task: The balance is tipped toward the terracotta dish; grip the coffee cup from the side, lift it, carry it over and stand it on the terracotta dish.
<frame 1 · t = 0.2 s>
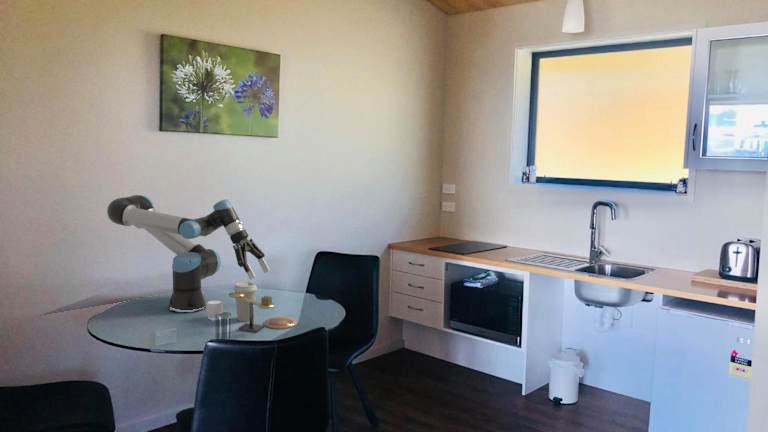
hand: (260, 274, 271), 15 cm above the table, tool tilted 35°, fingers open, 13 cm apart
shot glass: (214, 319, 257), on the table
coffee cup: (245, 319, 257), on the table
dish: (280, 323, 253), on the table
balance: (251, 329, 246), on the table
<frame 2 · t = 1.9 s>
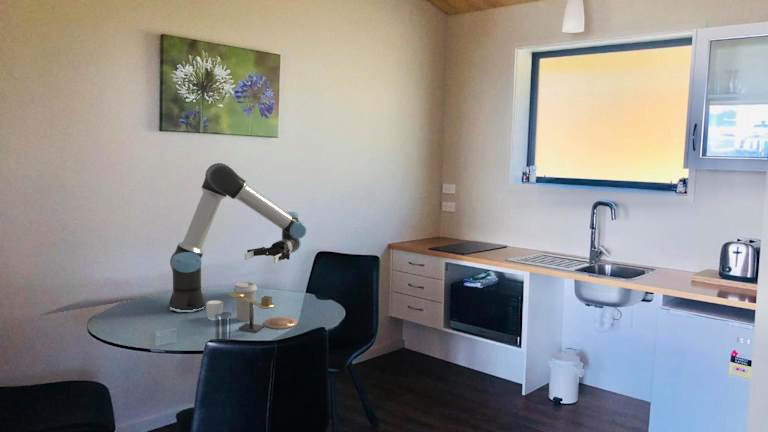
hand: (260, 258, 266), 23 cm above the table, tool horizontal, fingers open, 13 cm apart
nothing on the table moved.
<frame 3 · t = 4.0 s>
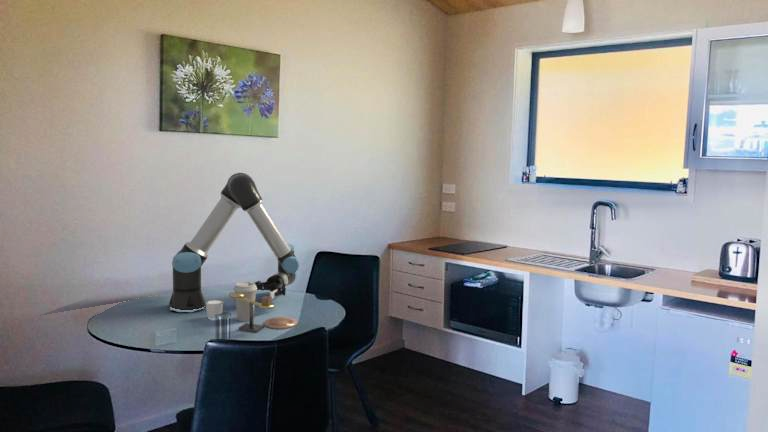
hand: (255, 294, 263), 8 cm above the table, tool horizontal, fingers open, 13 cm apart
nothing on the table moved.
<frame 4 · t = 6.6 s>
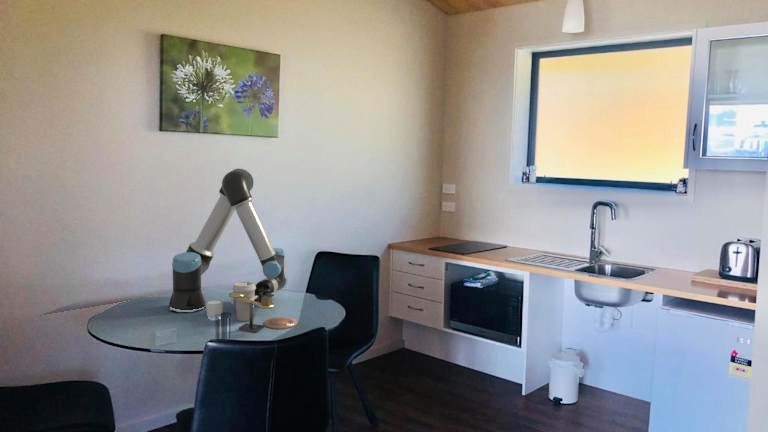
hand: (241, 301, 252), 9 cm above the table, tool horizontal, fingers closed on coffee cup, 7 cm apart
coffee cup: (245, 319, 257), on the table, touching gripper
everything else where it was.
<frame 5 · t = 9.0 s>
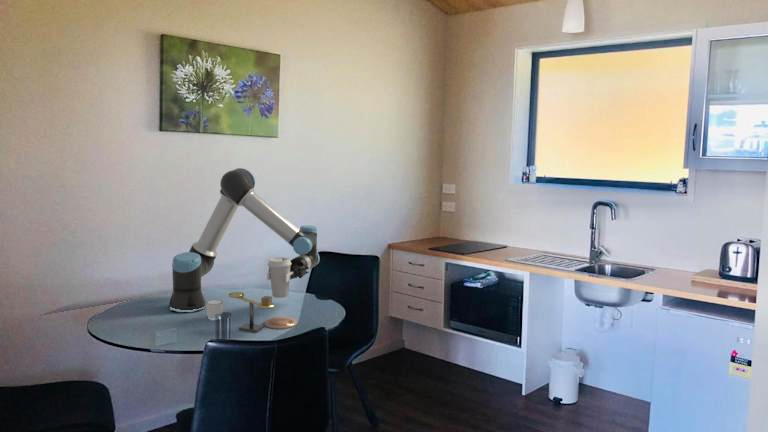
hand: (276, 277, 246), 20 cm above the table, tool horizontal, fingers closed on coffee cup, 7 cm apart
coffee cup: (280, 295, 251), point 12 cm above the table, touching gripper
everything else where it was.
when the fingers open (10 cm above the table, at t = 11.9 s): coffee cup stays where it is, resting on dish.
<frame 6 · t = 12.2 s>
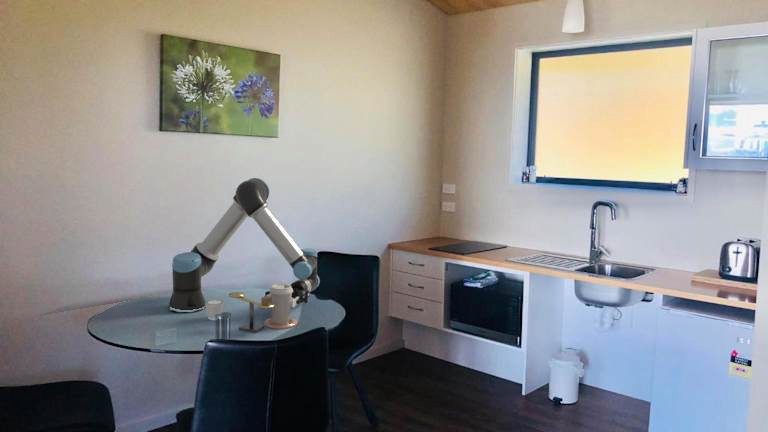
hand: (278, 302, 249), 10 cm above the table, tool horizontal, fingers open, 11 cm apart
coffee cup: (280, 322, 253), point 1 cm above the table, touching dish
everything else where it was.
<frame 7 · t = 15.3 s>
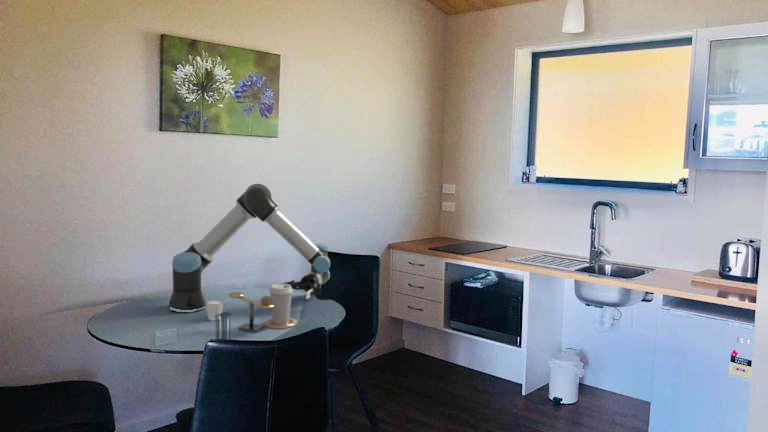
hand: (291, 294, 261), 10 cm above the table, tool horizontal, fingers open, 13 cm apart
nothing on the table moved.
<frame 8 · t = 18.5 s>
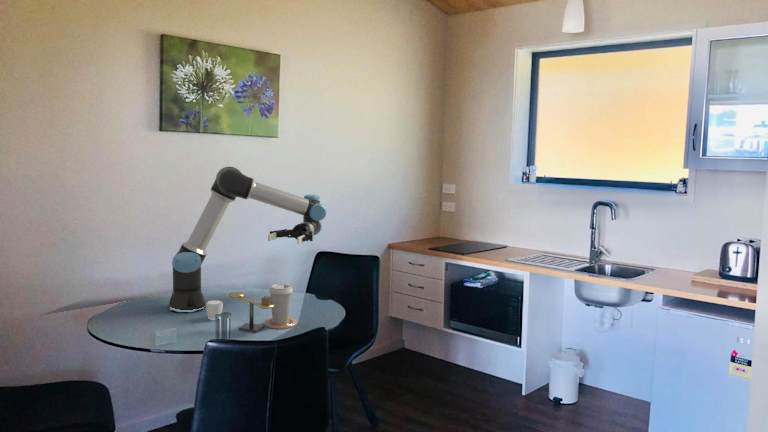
hand: (283, 239, 264), 32 cm above the table, tool horizontal, fingers open, 13 cm apart
nothing on the table moved.
at the end: coffee cup 0.1 cm from the dish (horizontally); coffee cup tilted 0°; coffee cup point 0.6 cm above the table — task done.
